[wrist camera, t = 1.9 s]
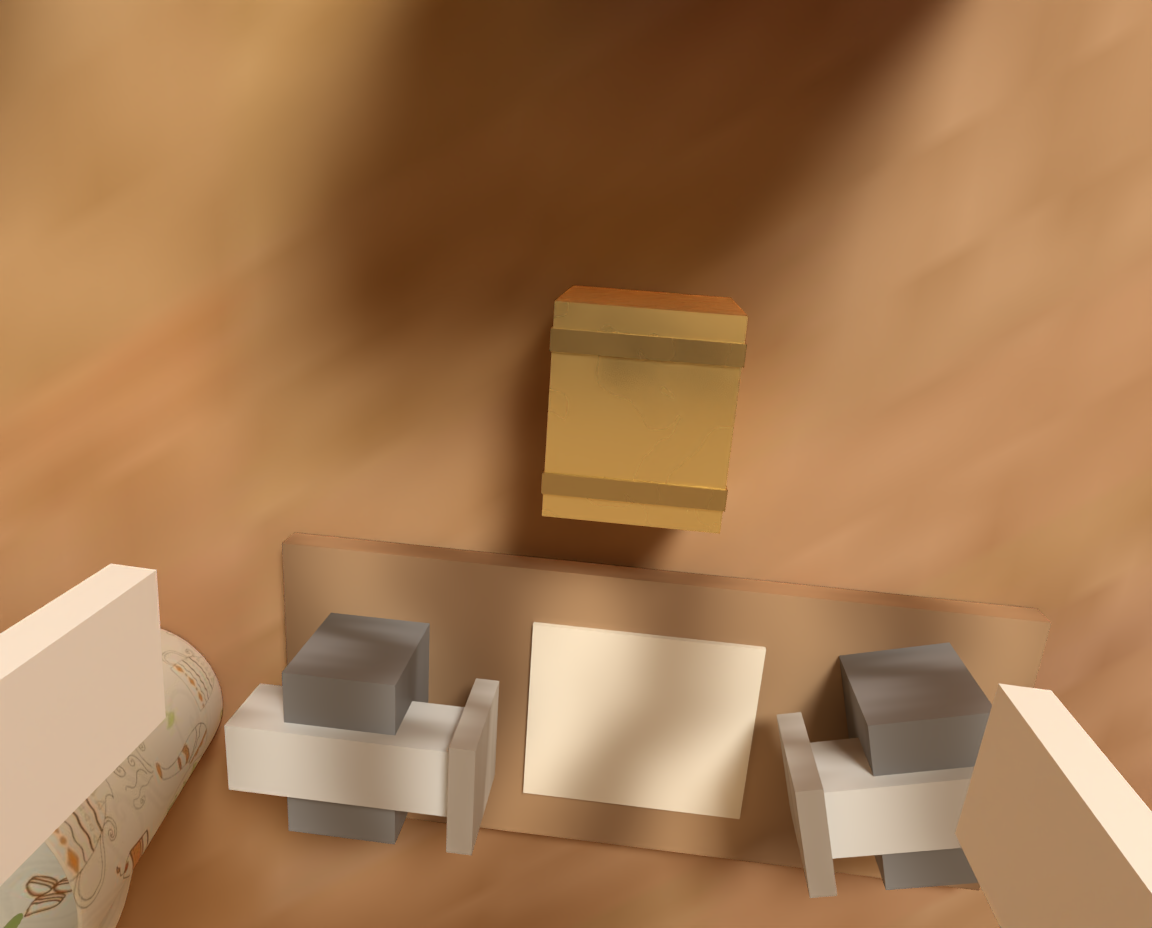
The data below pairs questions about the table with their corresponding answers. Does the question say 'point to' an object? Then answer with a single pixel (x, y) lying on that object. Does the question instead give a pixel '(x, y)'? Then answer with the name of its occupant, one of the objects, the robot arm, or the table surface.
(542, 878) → the table surface
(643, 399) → the block
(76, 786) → the robot arm
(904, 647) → the shaft bed
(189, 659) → the mug
